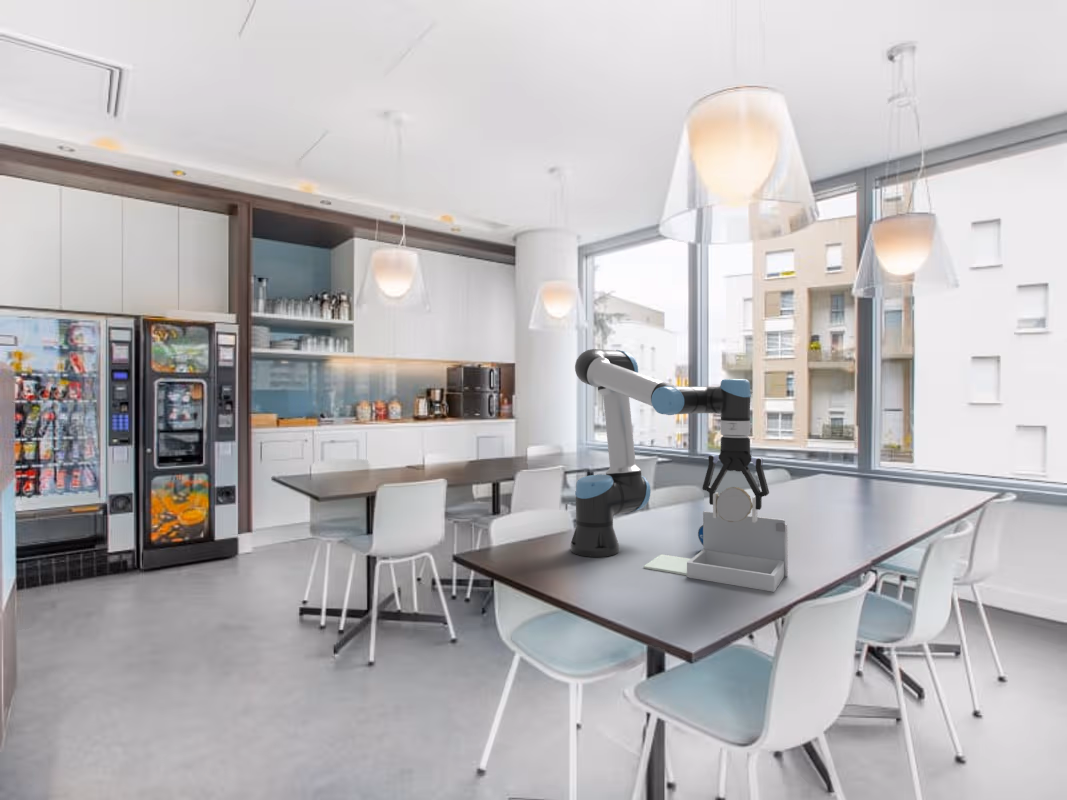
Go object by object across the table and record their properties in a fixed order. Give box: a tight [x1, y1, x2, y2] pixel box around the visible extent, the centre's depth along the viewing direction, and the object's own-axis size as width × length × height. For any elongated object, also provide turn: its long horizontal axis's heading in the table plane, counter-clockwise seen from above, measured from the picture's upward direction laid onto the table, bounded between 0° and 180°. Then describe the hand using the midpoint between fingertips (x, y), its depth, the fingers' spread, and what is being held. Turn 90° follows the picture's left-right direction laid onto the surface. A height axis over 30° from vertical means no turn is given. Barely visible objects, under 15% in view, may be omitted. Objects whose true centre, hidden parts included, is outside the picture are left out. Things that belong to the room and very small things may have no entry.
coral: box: [716, 486, 752, 522], centre depth 153 cm, size 10×10×10 cm
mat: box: [643, 553, 706, 576], centre depth 164 cm, size 14×14×1 cm
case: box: [686, 510, 789, 593], centre depth 154 cm, size 23×16×15 cm
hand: (734, 519), depth 154 cm, fingers closed on coral, 9 cm apart
